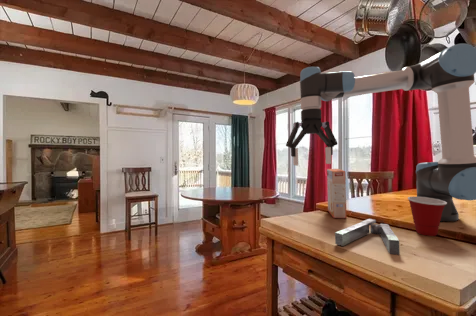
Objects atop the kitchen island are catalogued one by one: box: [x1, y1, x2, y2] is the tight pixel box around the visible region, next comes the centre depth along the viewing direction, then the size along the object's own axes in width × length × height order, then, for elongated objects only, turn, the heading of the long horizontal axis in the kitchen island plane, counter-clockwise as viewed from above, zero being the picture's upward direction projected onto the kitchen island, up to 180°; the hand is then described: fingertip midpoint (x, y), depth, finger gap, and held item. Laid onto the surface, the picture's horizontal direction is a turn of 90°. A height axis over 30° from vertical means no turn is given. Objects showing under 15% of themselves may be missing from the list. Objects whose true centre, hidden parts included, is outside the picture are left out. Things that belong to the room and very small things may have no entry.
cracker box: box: [326, 168, 347, 219], centre depth 113 cm, size 14×6×21 cm, turn 168°
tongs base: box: [370, 223, 400, 256], centre depth 79 cm, size 5×20×4 cm, turn 158°
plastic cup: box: [407, 196, 447, 237], centre depth 84 cm, size 11×11×12 cm
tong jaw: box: [334, 218, 377, 247], centre depth 83 cm, size 2×22×4 cm, turn 126°
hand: (312, 164), depth 94 cm, fingers open, 13 cm apart
